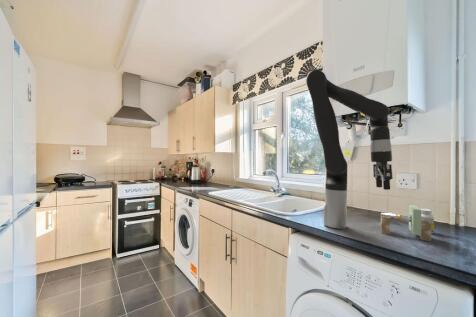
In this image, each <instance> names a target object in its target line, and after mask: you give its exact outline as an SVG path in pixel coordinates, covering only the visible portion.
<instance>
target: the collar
mask: <svg viewBox="0 0 476 317" xmlns="http://www.w3.org/2000/svg"><path fill="white" fill-rule="evenodd" d="M421 209H422V208H420V207H418V206H417V205H413V204H409V205H408V216H412V222H408V229H409V231H410V232H411V233H412V235H413V236H418V235H419V236H421ZM419 236H418V237H419Z"/></svg>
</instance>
